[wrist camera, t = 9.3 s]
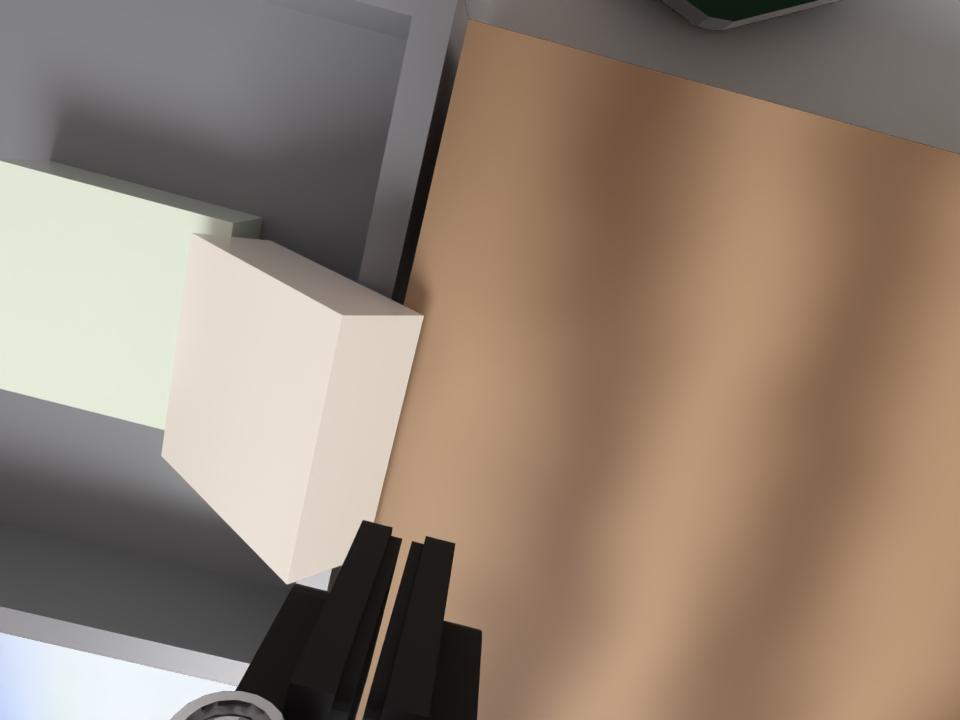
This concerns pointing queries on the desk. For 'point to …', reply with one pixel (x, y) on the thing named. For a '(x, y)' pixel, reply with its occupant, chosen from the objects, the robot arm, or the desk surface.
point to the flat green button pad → (736, 10)
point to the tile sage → (96, 285)
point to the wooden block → (683, 399)
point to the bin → (286, 221)
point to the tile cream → (285, 398)
